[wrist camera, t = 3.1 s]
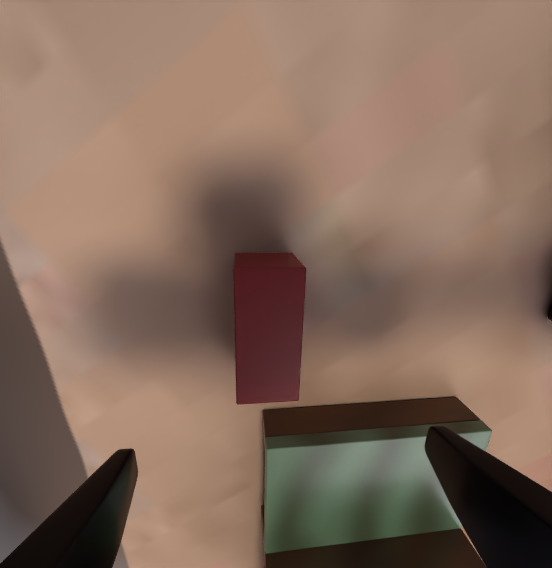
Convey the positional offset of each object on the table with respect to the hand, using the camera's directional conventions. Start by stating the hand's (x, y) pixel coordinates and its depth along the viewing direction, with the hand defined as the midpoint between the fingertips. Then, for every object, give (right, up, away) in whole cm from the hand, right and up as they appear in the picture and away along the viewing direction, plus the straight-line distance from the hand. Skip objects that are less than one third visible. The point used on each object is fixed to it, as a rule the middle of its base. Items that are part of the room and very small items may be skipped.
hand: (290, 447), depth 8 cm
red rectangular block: (-1, +3, +10) cm, 11 cm away
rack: (+6, -14, +17) cm, 22 cm away
